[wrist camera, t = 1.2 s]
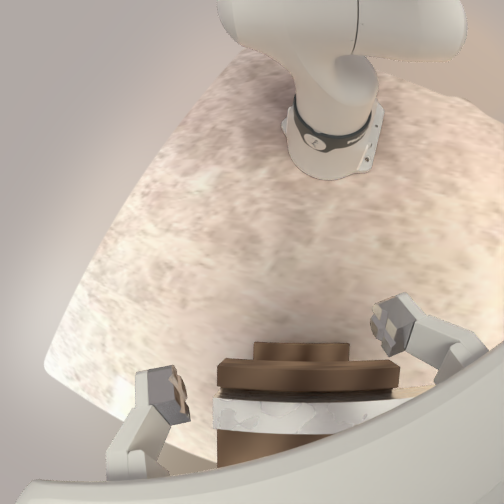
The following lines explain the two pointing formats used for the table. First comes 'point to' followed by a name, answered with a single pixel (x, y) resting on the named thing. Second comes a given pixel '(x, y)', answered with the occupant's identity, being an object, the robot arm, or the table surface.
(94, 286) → the table surface
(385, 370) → the walnut pedestal
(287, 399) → the aluminium bar
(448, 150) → the table surface
